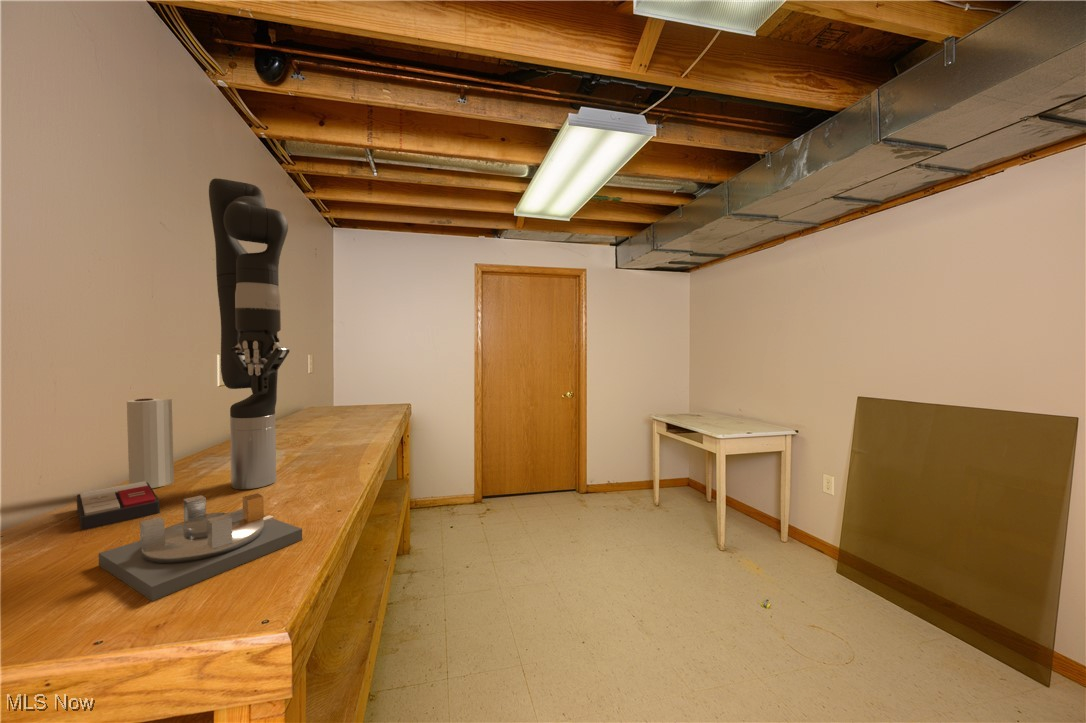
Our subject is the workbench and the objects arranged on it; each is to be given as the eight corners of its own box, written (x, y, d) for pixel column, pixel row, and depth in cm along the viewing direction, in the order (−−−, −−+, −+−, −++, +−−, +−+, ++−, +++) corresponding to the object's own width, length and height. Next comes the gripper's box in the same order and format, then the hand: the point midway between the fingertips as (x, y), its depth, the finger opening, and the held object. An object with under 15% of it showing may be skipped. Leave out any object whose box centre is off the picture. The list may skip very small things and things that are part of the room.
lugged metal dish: (188, 520, 78) (187, 493, 78) (280, 517, 81) (280, 490, 80) (112, 565, 63) (111, 531, 62) (229, 559, 65) (229, 526, 64)
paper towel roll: (121, 490, 100) (119, 400, 99) (149, 482, 106) (146, 397, 105) (148, 492, 99) (145, 401, 98) (174, 484, 105) (171, 398, 104)
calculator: (81, 513, 79) (76, 490, 89) (81, 535, 79) (77, 510, 89) (159, 497, 87) (147, 478, 97) (160, 517, 88) (148, 496, 97)
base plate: (98, 565, 67) (98, 550, 67) (244, 518, 85) (244, 506, 85) (152, 601, 58) (151, 584, 58) (302, 539, 76) (302, 526, 76)
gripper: (300, 309, 87) (301, 393, 88) (248, 309, 90) (250, 390, 91) (269, 305, 80) (271, 397, 81) (213, 306, 83) (215, 394, 84)
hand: (259, 393), depth 86 cm, fingers closed
